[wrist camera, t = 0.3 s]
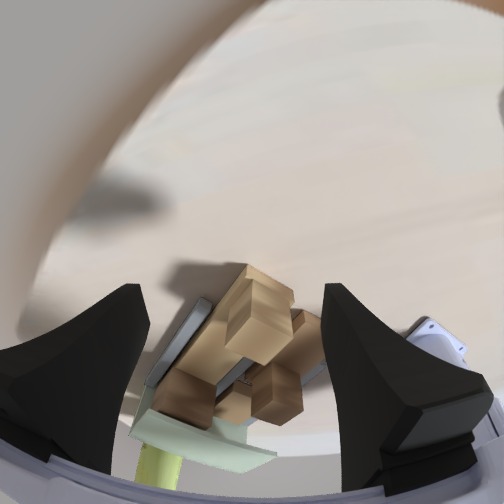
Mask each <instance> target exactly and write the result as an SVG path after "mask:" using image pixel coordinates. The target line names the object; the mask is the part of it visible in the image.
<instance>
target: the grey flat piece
mask: <svg viewBox="0 0 504 504" xmlns="http://www.w3.org/2000/svg"><path fill="white" fill-rule="evenodd" d="M211 306H212V303H211V302H209V301H207V300H205V299H204V298H202V297H201V298H200V299H199V301H198V302H197V304H196V305H195V307H194V308H193V310H192V311H191V312H190V314H189V315H188V317H187V318H186V320H185V321H184V323H183V324H182V326H181V327H180V329H179V330H178V332H177V333H176V335H175V336H174V337H173V339H172V340H171V342H170V343H169V345H168V346H167V348H166V349H165V351H164V352H163V354H162V355H161V357H160V358H159V360H158V361H157V363H156V364H155V366H154V367H153V369H152V370H151V372H150V373H149V375H148V376H147V378H146V381H145V384H144V385H146V386H148V387H150V388H154V386H155V385H156V384H157V382H158V381H159V380H160V378H161V377H162V376H163V374H164V373H165V372H166V370H167V369H168V368H169V366H170V365H171V363H172V362H173V361H174V359H175V358H176V357H177V355H178V354H179V353H180V351H181V350H182V349H183V347H184V346H185V345H186V343H187V342H188V341H189V339H190V338H191V336H192V335H193V334H194V332H195V331H196V330H197V328H198V327H199V326H200V324H201V323H202V322H203V320H204V319H205V318H206V316H207V315H208V313H209V312H210V310H211ZM254 362H255V361H253V360H251V359H248V358H246V357H243V358H242V359H241V360H240V361H239V362H238V363H237V364H236V365H235V366H234V367H233V368H232V369H231V370H230V371H229V372H228V373H227V374H226V375H225V376H224V377H223V378H222V379H221V380H220V381H219V382H218V383H217V384H216V385H215V386H217V392H216V399H215V406H214V413H213V416H214V417H217V418H220V419H222V420H225V421H228V422H231V423H234V424H237V425H240V424H242V425H245V426H249V425H251V424H252V423H254V422H255V421H257V420H258V419H256V418H253V417H251V398H252V386H250V385H247V384H245V383H242V382H240V381H237V380H236V379H237V378H238V377H239V376H240V375H241V374H242V373H243V372H244V371H245V370H247V369H248V368H249V367H250V366H251V365H252V364H253V363H254ZM324 368H326V363H325V359H323V360H322V361H321V362H320V363H319V364H318V365H316V366H315V367H314V368H313V369H312V370H311V371H309V372H308V373H307V374H306V375H305V376H303V377H302V378H301V379H300V380H301V387H302V386H304V385H305V384H306V383H307V382H309V381H310V380H311V379H312V378H314V377H315V376H316V375H317V374H318V373H320V372H321V371H322V370H323V369H324Z"/></svg>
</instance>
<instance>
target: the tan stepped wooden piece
mask: <svg viewBox="0 0 504 504" xmlns="http://www.w3.org/2000/svg"><path fill="white" fill-rule="evenodd" d="M294 302H295V301H294V294H293V290H291V289H290V288H288V287H286V286H284V285H283V284H281V283H279V282H278V281H276V280H274V279H272V278H271V277H269V276H267V275H265V274H264V273H262V272H260V271H259V270H257V269H255V268H253V267H252V266H250V265H248V264H247V266H246V267H245V268H244V270H243V271H242V272H241V274H240V275H239V276H238V278H237V279H236V281H235V282H234V283H233V285H232V286H231V287H230V289H229V290H228V291H227V293H226V294H225V295H224V297H223V298H222V299H221V301H220V302H219V303H218V305H217V306H216V307H215V309H214V310H213V311H212V313H211V314H210V315H209V317H208V318H207V319H206V321H205V322H204V323H203V325H202V326H201V327H200V329H199V330H198V331H197V333H196V334H195V335H194V337H193V338H192V339H191V341H190V342H189V343H188V345H187V346H186V347H185V349H184V350H183V352H182V353H181V354H180V356H179V357H178V358H177V360H176V361H175V362H174V364H173V365H172V366H171V368H170V369H169V370H168V372H167V373H166V374H165V376H164V377H163V379H164V378H165V377H166V375H167V374H168V373H169V371H170V370H171V369H172V367H173V366H174V367H176V368H178V369H180V370H182V371H184V372H186V373H188V374H191V375H193V376H195V377H197V378H199V379H202V380H204V381H206V382H208V383H211V384H213V385H216V384H217V383H218V382H219V381H220V380H221V379H222V378H223V377H224V376H225V375H226V374H227V373H228V372H229V371H230V370H231V369H232V368H233V367H234V366H235V365H236V364H237V363H238V362H239V361H240V360H241V359H242V358H243V357H246V358H248V359H251V360H253V361H255V362H257V363H260V364H262V365H264V366H265V365H266V364H267V363H268V362H269V361H270V360H271V359H272V358H273V357H274V356H275V355H277V354H278V353H279V352H280V351H281V350H282V349H283V348H284V347H285V346H286V345H287V344H288V343H289V342H290V341H291V340H292V339H293V329H292V320H291V312H290V307H291V306H292V305H293V303H294ZM162 381H163V380H162Z"/></svg>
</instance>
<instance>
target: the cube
mask: <svg viewBox="0 0 504 504" xmlns="http://www.w3.org/2000/svg"><path fill="white" fill-rule="evenodd" d="M216 392H217V386H215V385H213V384H211V383H208V382H206V381H204V380H202V379H199V378H197V377H195V376H193V375H191V374H188V373H186V372H184V371H182V370H180V369H178V368H176V367H174V366H173V367H172V369H171V370H170V371H169V373H168V374H167V375H166V377H165V378H164V379H163V381H162V382H161V383H160V385H159V386H158V387H157V389H156V392H155V395H154V398H153V402H152V405H151V408H150V409H152V410H154V411H156V412H158V413H161V414H163V415H165V416H168V417H170V418H172V419H175V420H177V421H180V422H182V423H185V424H187V425H190V426H193V427H195V428H198V429H201V430H203V431H206V430H207V429H208V428H210V427H211V426H212V420H213V413H214V406H215V399H216Z"/></svg>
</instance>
